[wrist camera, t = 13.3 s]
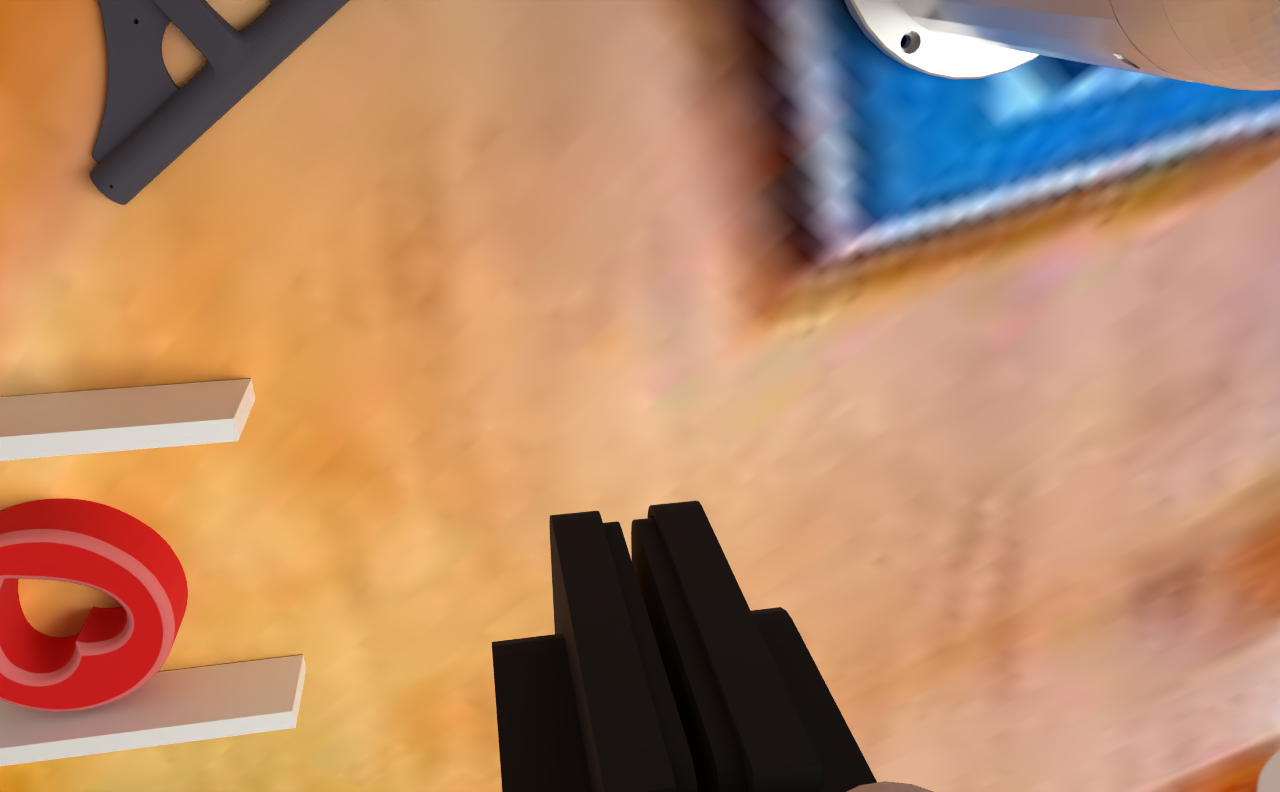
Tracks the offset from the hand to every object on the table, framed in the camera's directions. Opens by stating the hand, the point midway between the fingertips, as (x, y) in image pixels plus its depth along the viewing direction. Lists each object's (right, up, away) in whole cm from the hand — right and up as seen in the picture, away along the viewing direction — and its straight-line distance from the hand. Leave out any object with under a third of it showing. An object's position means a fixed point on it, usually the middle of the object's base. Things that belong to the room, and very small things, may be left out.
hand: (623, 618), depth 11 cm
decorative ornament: (-26, -6, +34) cm, 43 cm away
